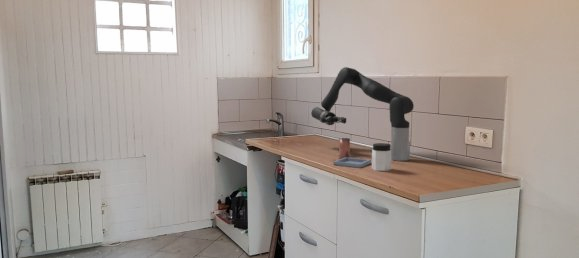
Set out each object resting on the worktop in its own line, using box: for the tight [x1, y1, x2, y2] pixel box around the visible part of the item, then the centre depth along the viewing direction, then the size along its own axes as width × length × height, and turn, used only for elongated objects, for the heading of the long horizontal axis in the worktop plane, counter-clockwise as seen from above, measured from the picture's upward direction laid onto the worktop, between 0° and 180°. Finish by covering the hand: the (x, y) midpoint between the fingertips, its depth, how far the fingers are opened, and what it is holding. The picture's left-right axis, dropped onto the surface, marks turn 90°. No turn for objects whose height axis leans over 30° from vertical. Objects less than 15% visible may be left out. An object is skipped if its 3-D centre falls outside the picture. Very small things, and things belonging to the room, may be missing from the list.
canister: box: [338, 137, 351, 160], centre depth 235 cm, size 6×6×11 cm
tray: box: [333, 157, 372, 169], centre depth 221 cm, size 14×14×2 cm
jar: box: [371, 142, 392, 172], centre depth 208 cm, size 9×8×12 cm
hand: (337, 121), depth 244 cm, fingers open, 8 cm apart
